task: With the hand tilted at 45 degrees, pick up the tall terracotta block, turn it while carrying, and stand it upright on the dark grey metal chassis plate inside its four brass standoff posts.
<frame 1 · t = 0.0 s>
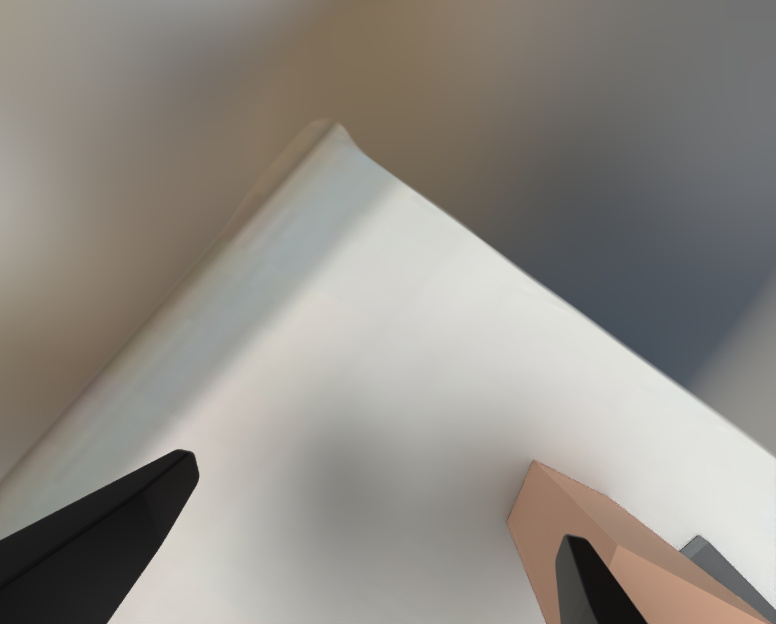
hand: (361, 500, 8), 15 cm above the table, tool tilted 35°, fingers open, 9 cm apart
terracotta block: (557, 510, 21), on the table
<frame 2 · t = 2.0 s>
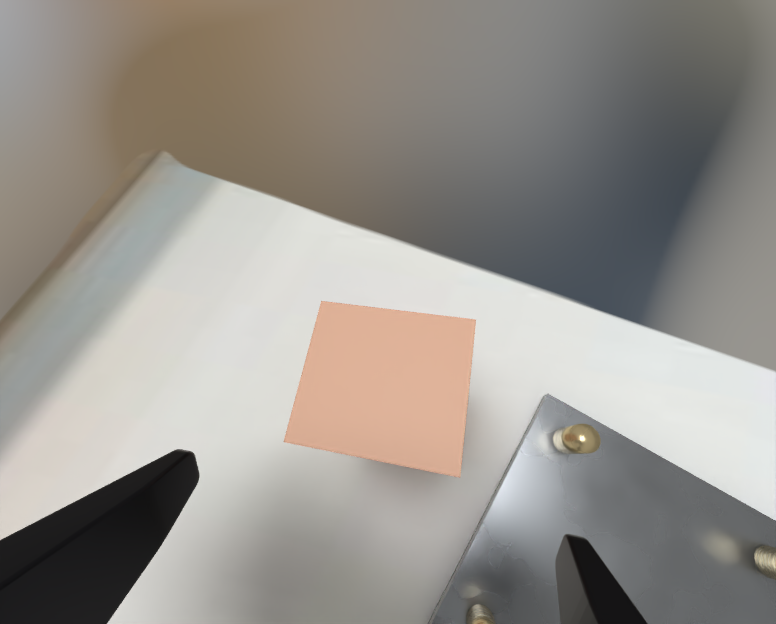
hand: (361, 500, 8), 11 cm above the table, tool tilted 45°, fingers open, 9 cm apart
standoff chassis: (614, 586, 16), on the table
terracotta block: (411, 419, 20), on the table
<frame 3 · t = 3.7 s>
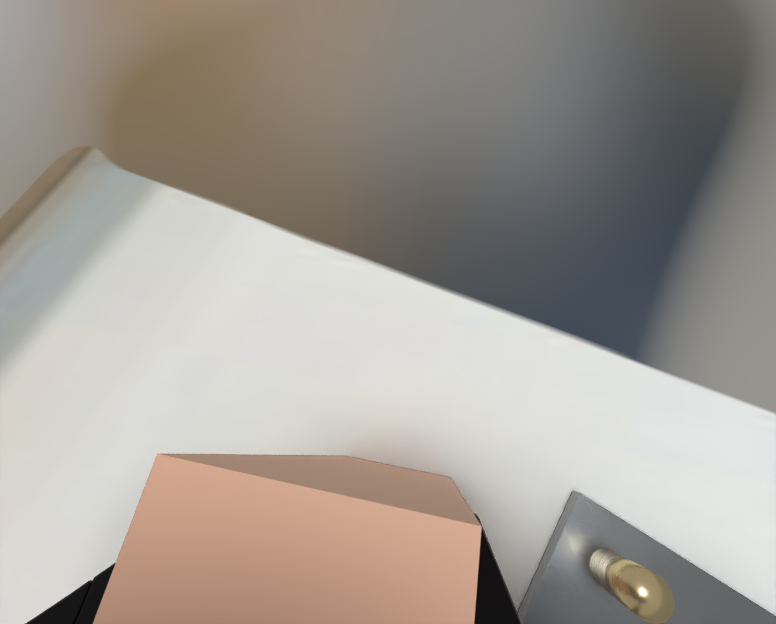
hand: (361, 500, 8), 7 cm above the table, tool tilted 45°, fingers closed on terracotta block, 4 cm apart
terracotta block: (387, 520, 14), on the table, touching gripper
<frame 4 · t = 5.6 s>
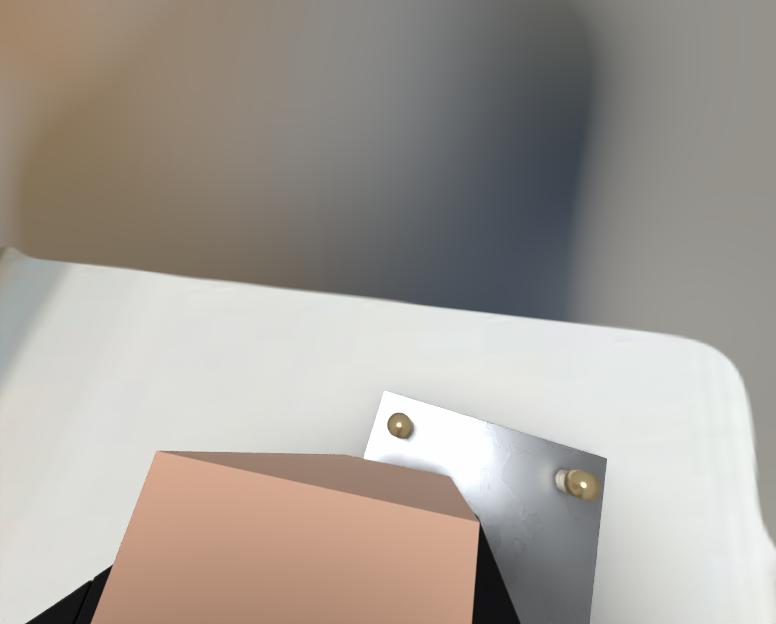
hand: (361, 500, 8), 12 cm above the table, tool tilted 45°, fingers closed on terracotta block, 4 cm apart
standoff chassis: (461, 539, 18), on the table
terracotta block: (386, 519, 14), point 6 cm above the table, touching gripper
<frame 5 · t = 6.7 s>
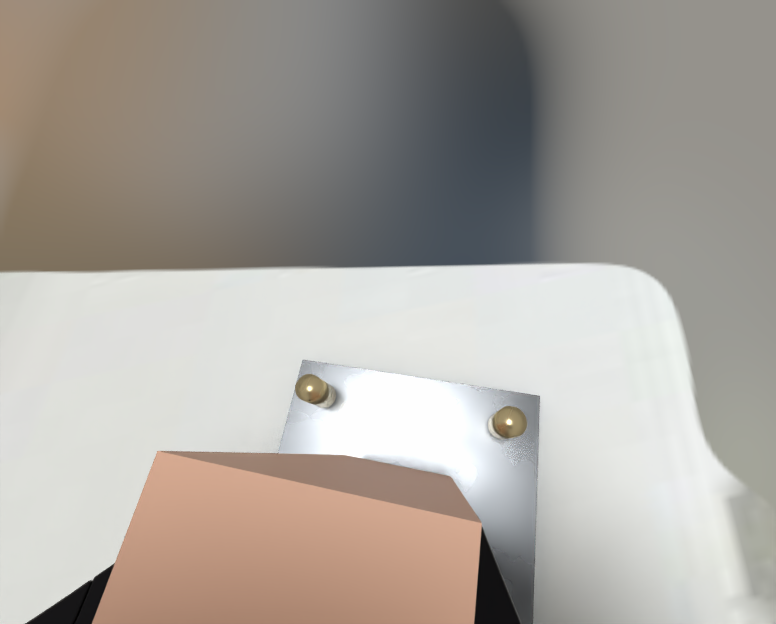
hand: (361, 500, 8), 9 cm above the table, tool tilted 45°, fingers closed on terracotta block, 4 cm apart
standoff chassis: (395, 506, 17), on the table
terracotta block: (387, 519, 14), point 3 cm above the table, touching gripper
when the fingers open (8 cm above the table, at t = 7.7 s): terracotta block stays where it is, resting on standoff chassis.
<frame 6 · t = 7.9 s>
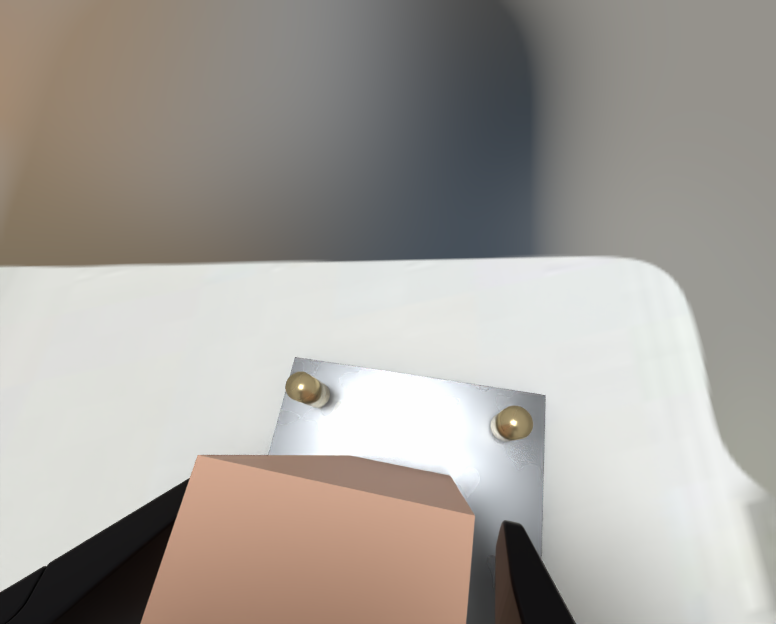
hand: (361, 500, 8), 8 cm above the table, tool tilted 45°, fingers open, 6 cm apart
standoff chassis: (392, 513, 16), on the table
terracotta block: (390, 516, 15), point 1 cm above the table, touching standoff chassis
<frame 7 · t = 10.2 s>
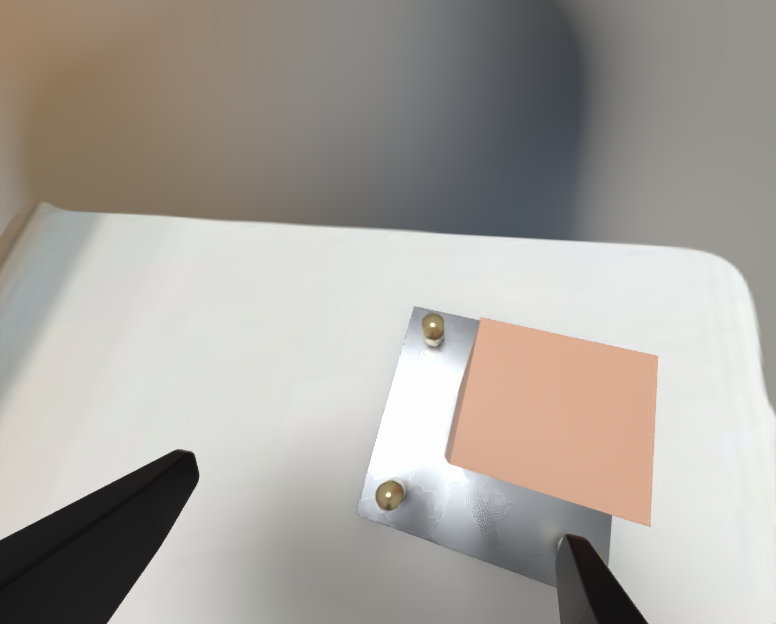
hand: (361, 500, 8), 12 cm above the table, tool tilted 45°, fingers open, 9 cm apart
standoff chassis: (491, 431, 20), on the table
terracotta block: (494, 431, 19), point 1 cm above the table, touching standoff chassis
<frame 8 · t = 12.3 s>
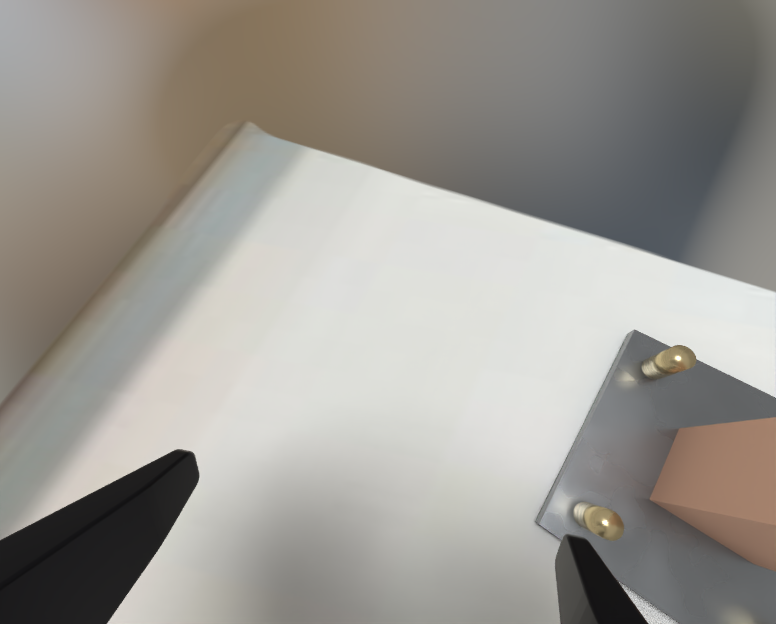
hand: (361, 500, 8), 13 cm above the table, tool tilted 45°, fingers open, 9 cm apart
standoff chassis: (702, 489, 18), on the table
terracotta block: (713, 491, 17), point 1 cm above the table, touching standoff chassis
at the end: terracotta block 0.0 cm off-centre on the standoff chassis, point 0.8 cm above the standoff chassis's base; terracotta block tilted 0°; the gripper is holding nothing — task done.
